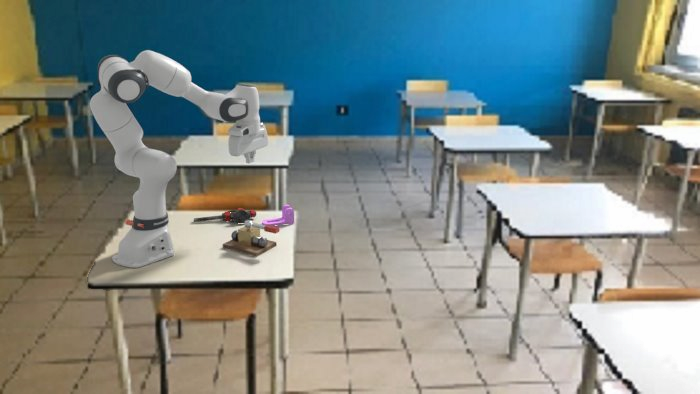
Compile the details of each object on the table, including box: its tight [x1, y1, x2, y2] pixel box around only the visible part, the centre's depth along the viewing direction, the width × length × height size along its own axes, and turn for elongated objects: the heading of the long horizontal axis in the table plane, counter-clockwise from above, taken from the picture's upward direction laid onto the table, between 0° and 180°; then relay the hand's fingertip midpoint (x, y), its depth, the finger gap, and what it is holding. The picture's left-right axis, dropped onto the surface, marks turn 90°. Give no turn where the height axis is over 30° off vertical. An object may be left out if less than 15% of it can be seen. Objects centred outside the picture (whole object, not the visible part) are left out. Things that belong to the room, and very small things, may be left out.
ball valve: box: [230, 225, 269, 248], centre depth 227 cm, size 6×15×7 cm, turn 60°
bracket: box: [261, 204, 295, 226], centre depth 251 cm, size 13×6×7 cm, turn 110°
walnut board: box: [222, 238, 277, 258], centre depth 229 cm, size 12×16×2 cm
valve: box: [193, 207, 257, 225], centre depth 256 cm, size 6×26×15 cm
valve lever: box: [244, 219, 280, 234], centre depth 223 cm, size 14×3×2 cm, turn 62°
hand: (250, 162), depth 233 cm, fingers closed
